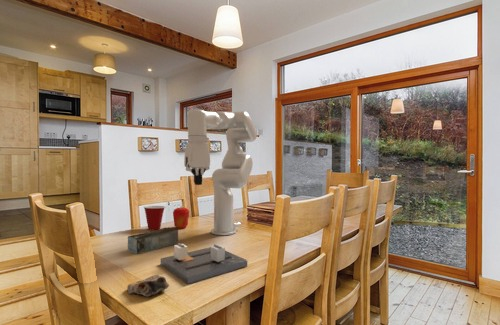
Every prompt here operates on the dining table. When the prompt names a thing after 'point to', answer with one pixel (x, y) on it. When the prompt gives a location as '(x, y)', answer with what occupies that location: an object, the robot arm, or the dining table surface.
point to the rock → (148, 286)
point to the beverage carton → (152, 240)
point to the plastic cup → (154, 216)
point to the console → (202, 265)
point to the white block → (217, 253)
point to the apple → (181, 217)
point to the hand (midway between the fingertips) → (198, 184)
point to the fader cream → (180, 251)
